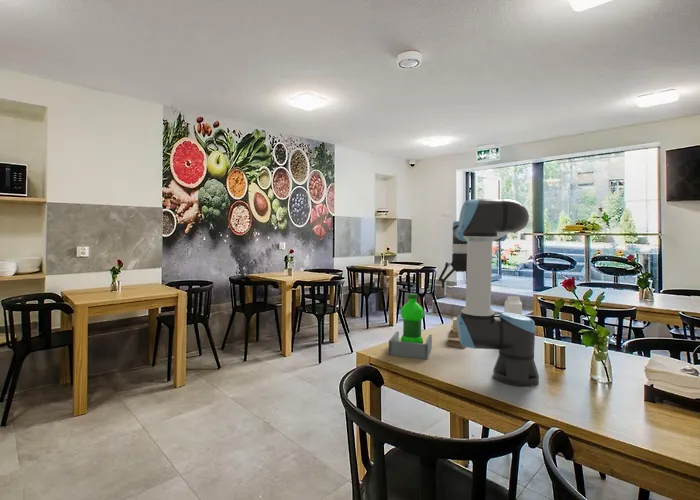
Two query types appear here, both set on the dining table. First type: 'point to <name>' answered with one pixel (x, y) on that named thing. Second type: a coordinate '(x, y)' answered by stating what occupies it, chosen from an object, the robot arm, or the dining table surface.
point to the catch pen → (409, 347)
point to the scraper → (454, 335)
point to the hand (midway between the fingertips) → (459, 295)
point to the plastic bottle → (412, 320)
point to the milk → (513, 305)
